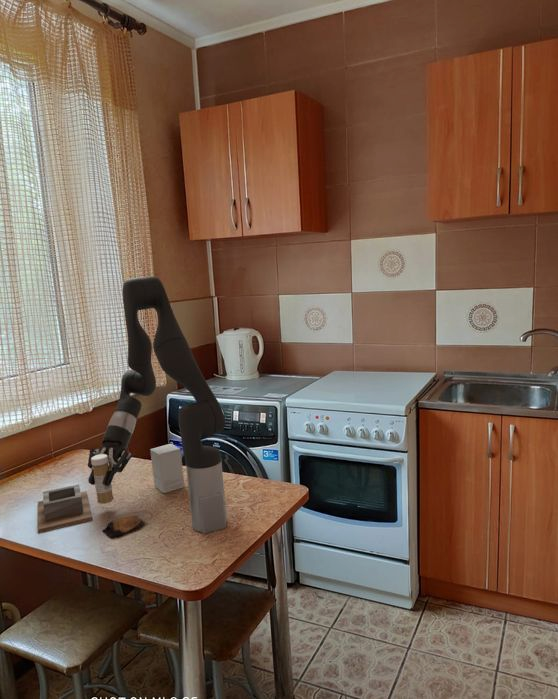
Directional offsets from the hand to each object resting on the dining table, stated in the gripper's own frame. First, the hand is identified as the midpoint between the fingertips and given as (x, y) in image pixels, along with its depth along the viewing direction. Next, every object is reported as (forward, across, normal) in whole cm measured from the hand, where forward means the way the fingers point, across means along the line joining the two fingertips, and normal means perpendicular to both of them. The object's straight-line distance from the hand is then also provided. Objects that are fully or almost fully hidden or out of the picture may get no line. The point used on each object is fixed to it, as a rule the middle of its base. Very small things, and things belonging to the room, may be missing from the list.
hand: (98, 484), depth 155 cm
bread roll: (+11, +12, +3) cm, 16 cm away
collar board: (+7, -12, +5) cm, 15 cm away
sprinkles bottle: (+3, 0, +6) cm, 6 cm away
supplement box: (-8, +9, +21) cm, 25 cm away
